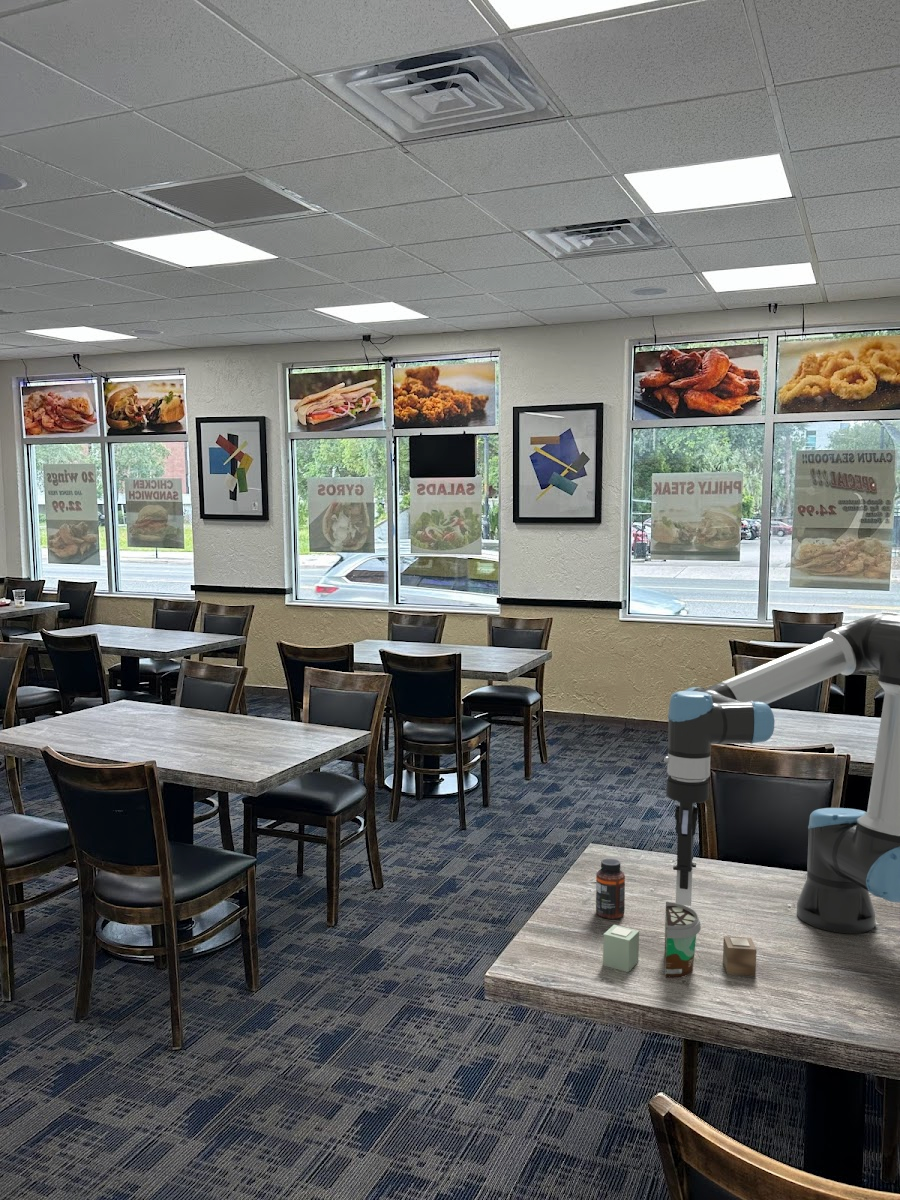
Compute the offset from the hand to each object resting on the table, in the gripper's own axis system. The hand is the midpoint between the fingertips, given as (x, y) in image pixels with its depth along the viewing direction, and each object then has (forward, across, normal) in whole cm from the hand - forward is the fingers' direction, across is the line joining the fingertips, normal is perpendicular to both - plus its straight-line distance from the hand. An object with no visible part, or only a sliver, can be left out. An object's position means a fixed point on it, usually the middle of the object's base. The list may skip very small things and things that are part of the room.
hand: (683, 903), depth 173 cm
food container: (+12, 0, 0) cm, 12 cm away
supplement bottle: (+12, -20, -16) cm, 28 cm away
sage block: (+12, +2, -11) cm, 16 cm away
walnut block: (+12, -3, +10) cm, 16 cm away
